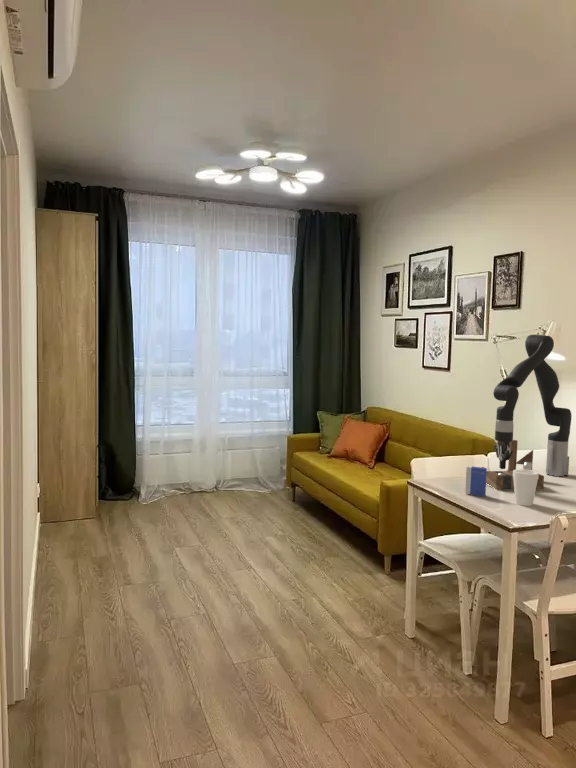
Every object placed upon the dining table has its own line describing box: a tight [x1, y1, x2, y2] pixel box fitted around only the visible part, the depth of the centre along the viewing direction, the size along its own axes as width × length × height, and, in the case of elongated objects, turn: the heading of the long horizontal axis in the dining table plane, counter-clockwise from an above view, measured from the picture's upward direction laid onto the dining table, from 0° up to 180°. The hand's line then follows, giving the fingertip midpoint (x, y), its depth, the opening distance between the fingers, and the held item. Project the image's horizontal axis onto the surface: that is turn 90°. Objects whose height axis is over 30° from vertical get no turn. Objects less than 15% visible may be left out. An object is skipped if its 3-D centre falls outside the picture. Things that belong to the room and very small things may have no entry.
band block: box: [486, 470, 545, 490], centre depth 263 cm, size 22×10×6 cm, turn 97°
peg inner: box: [524, 462, 533, 471], centre depth 263 cm, size 3×3×6 cm
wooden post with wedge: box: [506, 439, 534, 471], centre depth 280 cm, size 4×11×18 cm, turn 60°
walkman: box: [464, 465, 488, 497], centre depth 247 cm, size 8×3×12 cm, turn 62°
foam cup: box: [513, 468, 540, 507], centre depth 235 cm, size 10×9×13 cm
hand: (502, 468), depth 262 cm, fingers closed
